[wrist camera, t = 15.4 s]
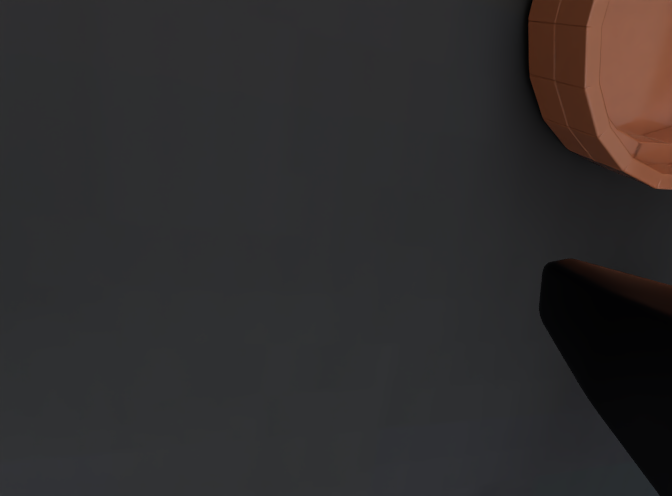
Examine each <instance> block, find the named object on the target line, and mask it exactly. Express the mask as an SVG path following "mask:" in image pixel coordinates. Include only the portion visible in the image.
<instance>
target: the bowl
mask: <svg viewBox="0 0 672 496" xmlns="http://www.w3.org/2000/svg"><path fill="white" fill-rule="evenodd" d="M528 20H529V22H528V43H529V74H530V75H529V77H530V80H531V83H532V86H533V89H534V93H535V96H536V99H537V102H538V105H539V108H540V111H541V114H542V117H543V120H544V121H545V122H546V123H547V125H548V126H549V127H550V128H551V130H552V131H553V132H554V133H555V135H556V136H557V137H558V138H559V140H560V141H561V142H562V143H563V145H564V146H565V147H566V148H567V149H569V151H571V152H573V153H575V154H577V155H579V156H581V157H583V158H585V159H587V160H589V161H591V162H593V163H595V164H597V165H599V166H601V167H604V168H606V169H608V170H611V171H613V172H616V173H618V174H621V175H624V176H626V177H628V178H630V179H633V180H635V181H638V182H640V183H643V184H645V185H647V186H650V187H652V188H656V189H670V190H672V0H533V1H532V5H531V9H530V13H529V17H528Z"/></svg>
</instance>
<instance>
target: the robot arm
mask: <svg viewBox="0 0 672 496" xmlns="http://www.w3.org/2000/svg"><path fill="white" fill-rule="evenodd" d="M539 311H540V316H541V319H542V322H543V324H544V326H545V327H546V329H547V331H548V332H549V334H550V336H551V337H552V339H553V341H554V343H555V344H556V346H557V348H558V349H559V351H560V353H561V354H562V356H563V358H564V359H565V361H566V363H567V365H568V366H569V368H570V370H571V371H572V373H573V375H574V376H575V378H576V380H577V382H578V383H579V385H580V387H581V388H582V390H583V391H584V393H585V394H586V396H587V398H588V399H589V401H590V402H591V403H592V405H593V406H594V408H595V409H596V410H597V412H598V413H599V415H600V416H601V417H602V419H603V420H604V421H605V423H606V424H607V425H608V427H609V428H610V429H611V431H612V432H613V433H614V435H615V436H616V437H617V439H618V440H619V441H620V443H621V444H622V445H623V447H624V448H625V450H626V451H627V452H628V454H629V455H630V456H631V458H632V459H633V460H634V462H635V463H636V464H637V466H638V467H639V468H640V470H641V471H642V472H643V474H644V475H645V476H646V478H647V479H648V480H649V482H650V483H651V484H652V486H653V487H654V488H655V490H656V491H657V492H658V494H659V495H660V496H672V286H671V285H667V284H664V283H660V282H656V281H653V280H649V279H645V278H642V277H638V276H634V275H631V274H627V273H623V272H620V271H616V270H612V269H609V268H605V267H602V266H598V265H594V264H591V263H587V262H583V261H580V260H576V259H564V260H559V261H553V262H549V263H548V264H546V265H545V267H544V269H543V273H542V282H541V292H540V303H539Z"/></svg>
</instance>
